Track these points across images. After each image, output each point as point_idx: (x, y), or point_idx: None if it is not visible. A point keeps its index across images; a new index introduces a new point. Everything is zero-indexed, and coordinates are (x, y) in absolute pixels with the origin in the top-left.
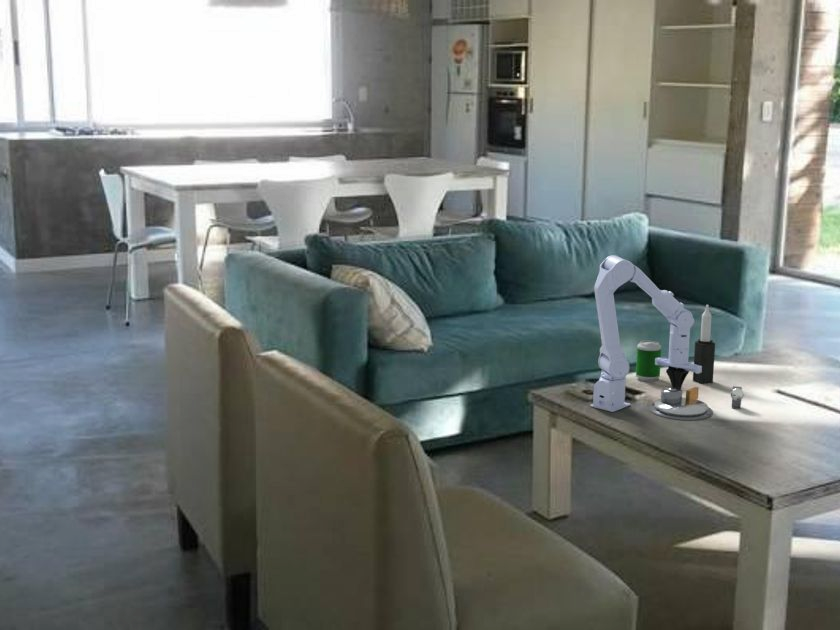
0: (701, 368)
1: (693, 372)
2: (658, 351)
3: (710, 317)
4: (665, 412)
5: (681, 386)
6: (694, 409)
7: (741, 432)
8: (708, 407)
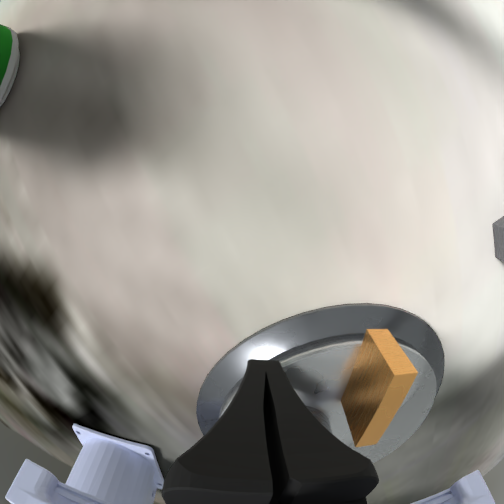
0: (487, 493)
1: None
2: None
3: None
4: None
5: (289, 385)
6: (392, 437)
7: (486, 414)
8: (427, 329)
